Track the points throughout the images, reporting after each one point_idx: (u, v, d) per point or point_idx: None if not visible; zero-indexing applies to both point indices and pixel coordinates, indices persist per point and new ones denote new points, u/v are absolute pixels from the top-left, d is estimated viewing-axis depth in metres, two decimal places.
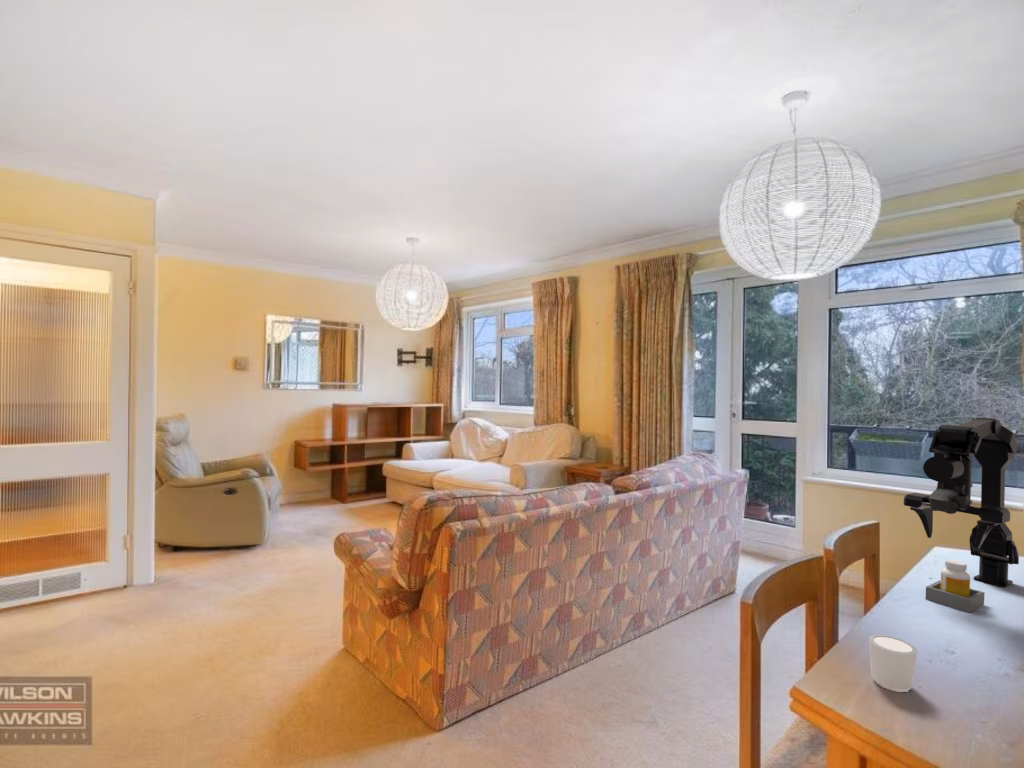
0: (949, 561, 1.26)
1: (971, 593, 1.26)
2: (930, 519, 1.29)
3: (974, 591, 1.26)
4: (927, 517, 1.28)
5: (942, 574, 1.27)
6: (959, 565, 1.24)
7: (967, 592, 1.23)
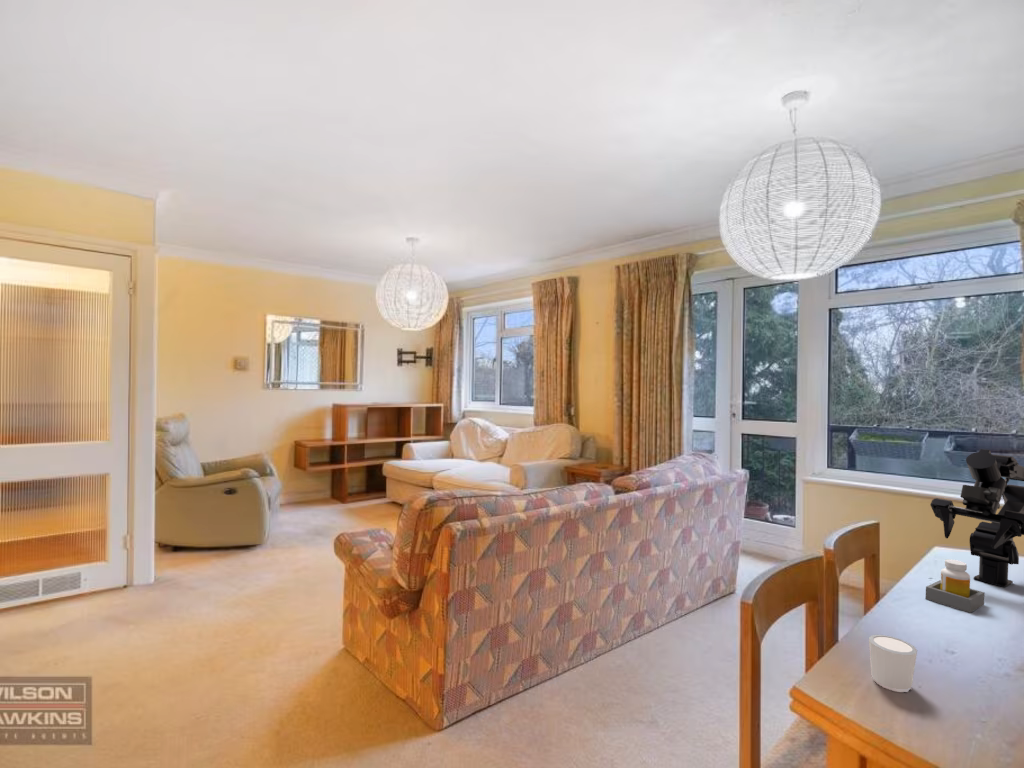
0: (949, 561, 1.26)
1: (971, 593, 1.26)
2: (951, 525, 1.36)
3: (974, 591, 1.26)
4: (949, 519, 1.35)
5: (942, 574, 1.27)
6: (959, 565, 1.24)
7: (967, 592, 1.23)
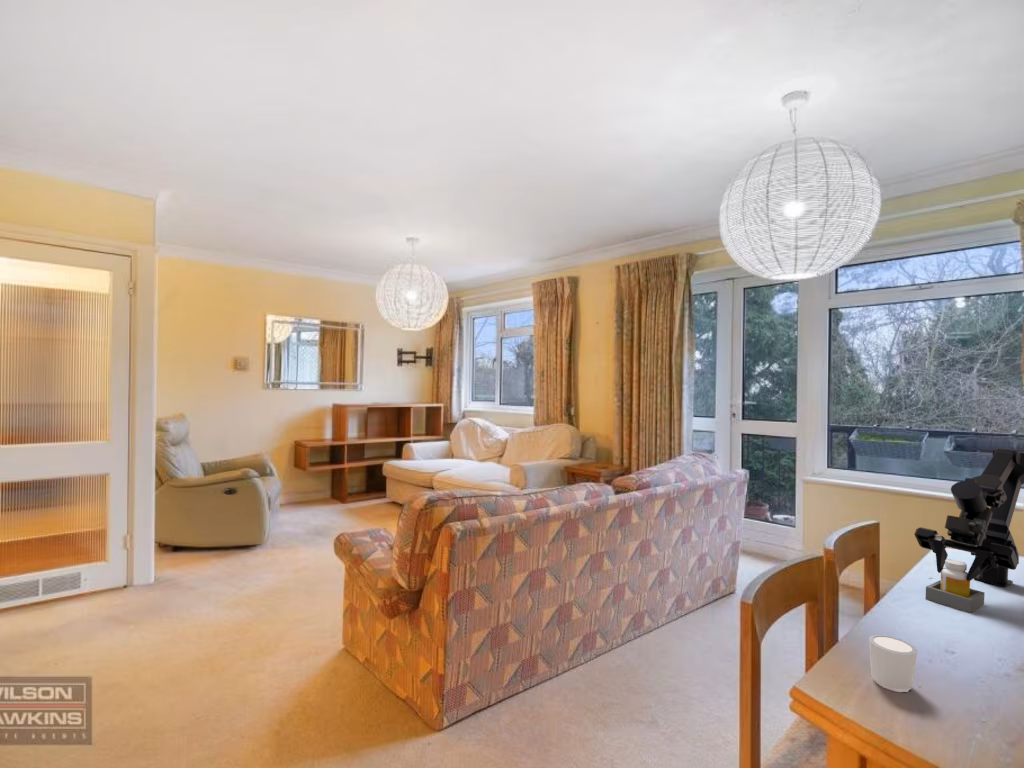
0: (949, 561, 1.26)
1: (971, 593, 1.26)
2: (944, 558, 1.30)
3: (974, 591, 1.26)
4: (942, 552, 1.29)
5: (942, 574, 1.27)
6: (959, 565, 1.24)
7: (967, 592, 1.23)
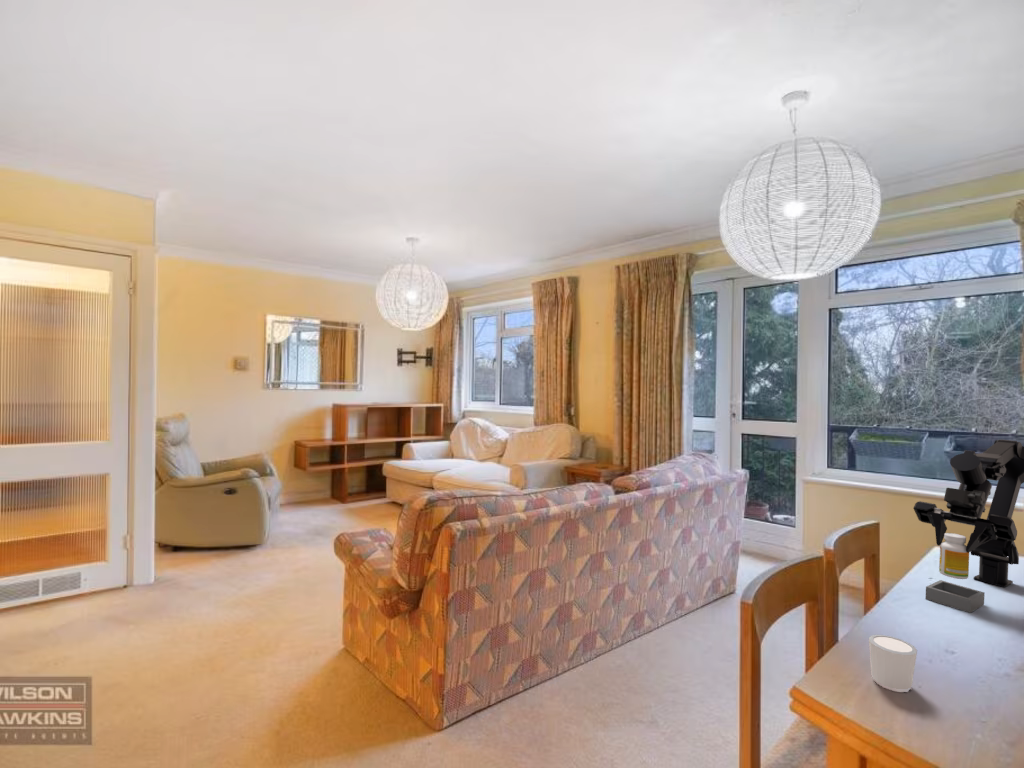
0: (948, 534, 1.26)
1: (971, 593, 1.26)
2: (943, 531, 1.29)
3: (974, 591, 1.26)
4: (941, 525, 1.28)
5: (941, 547, 1.26)
6: (958, 538, 1.23)
7: (966, 565, 1.23)
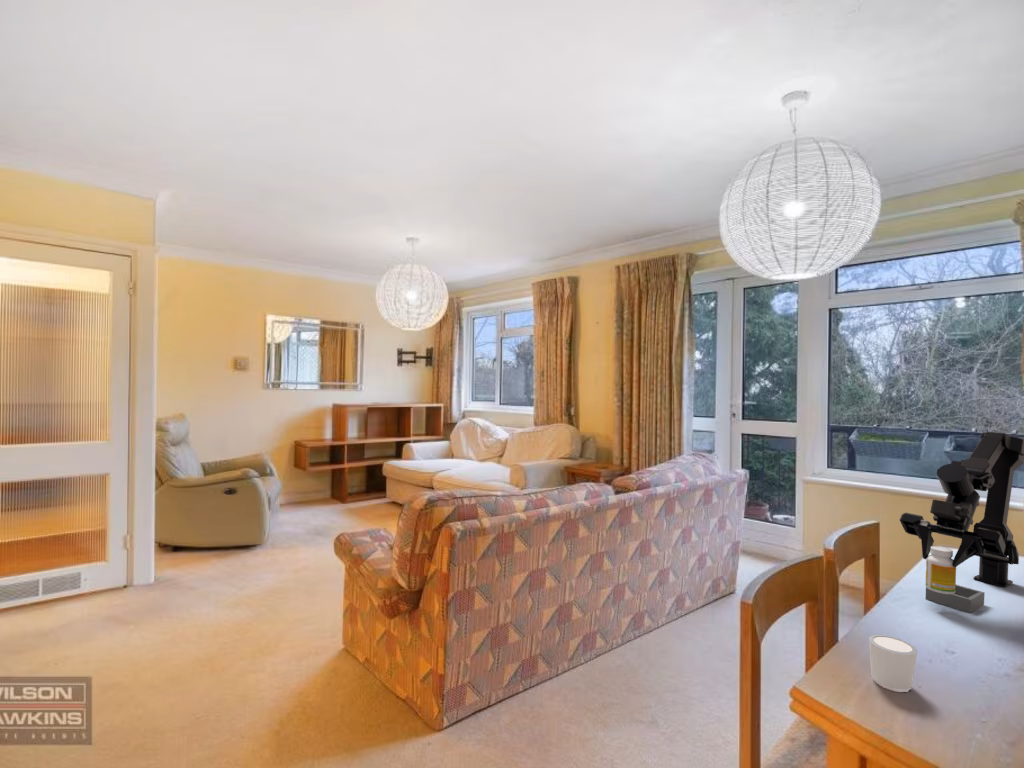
0: (935, 548, 1.21)
1: (971, 593, 1.26)
2: (929, 544, 1.25)
3: (974, 591, 1.26)
4: (928, 537, 1.24)
5: (927, 561, 1.22)
6: (945, 552, 1.19)
7: (953, 579, 1.19)
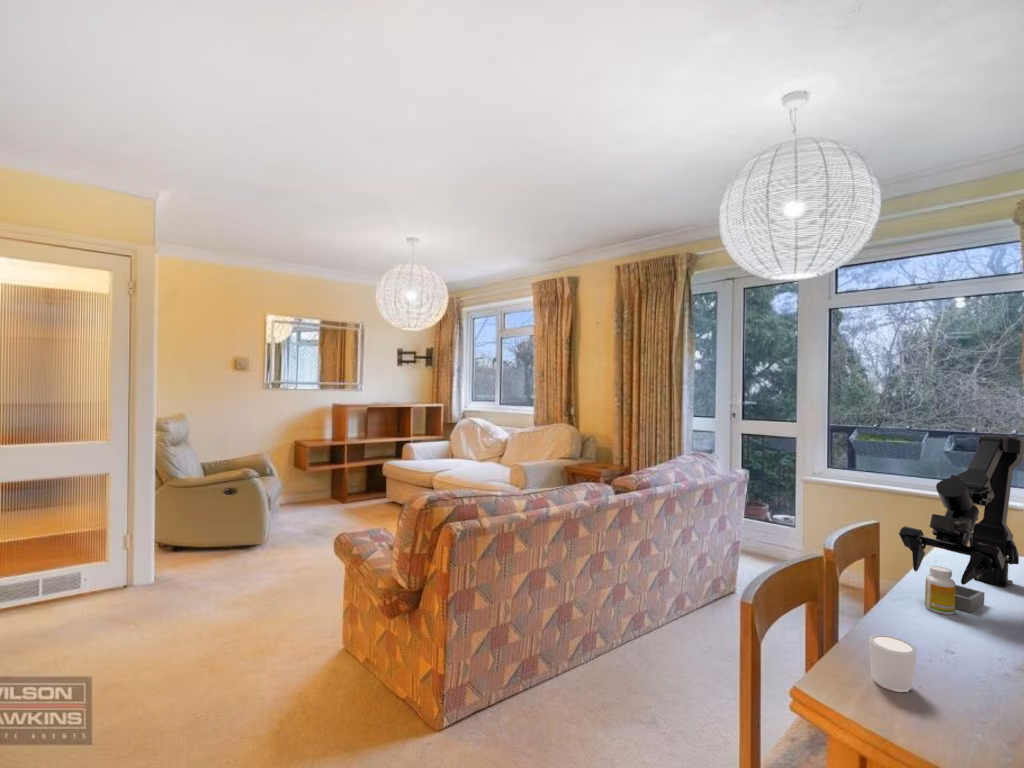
0: (934, 567, 1.22)
1: (971, 593, 1.26)
2: (920, 556, 1.26)
3: (974, 591, 1.26)
4: (919, 550, 1.26)
5: (927, 581, 1.22)
6: (944, 572, 1.19)
7: (952, 600, 1.19)
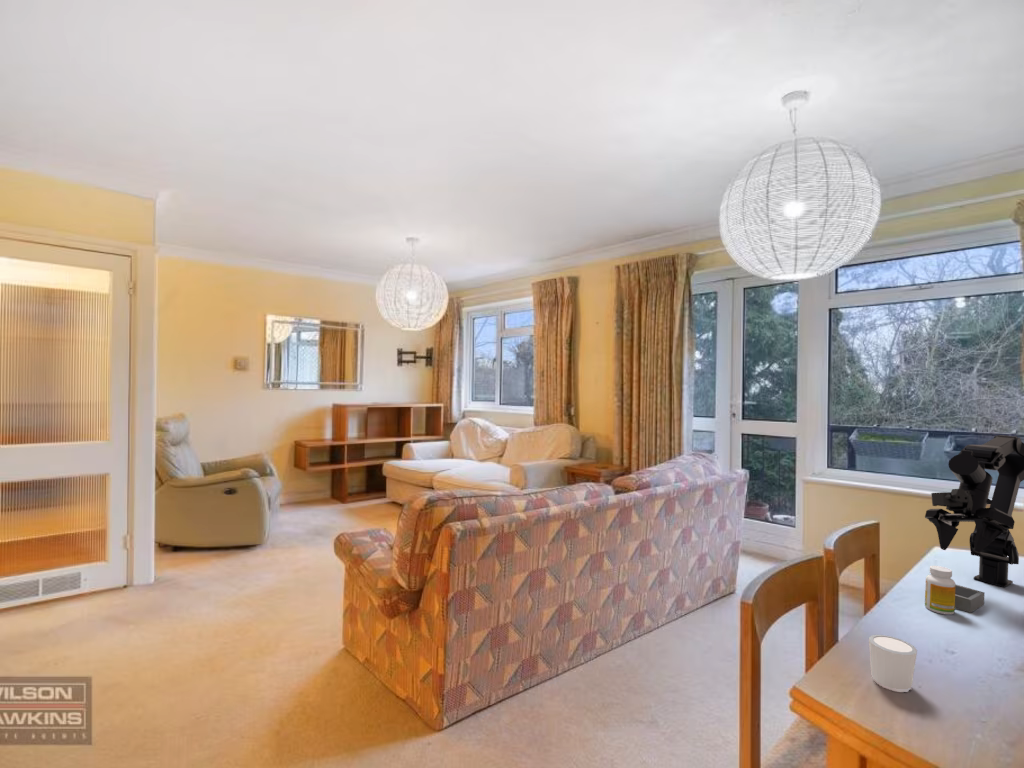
0: (934, 567, 1.22)
1: (971, 593, 1.26)
2: (949, 534, 1.32)
3: (974, 591, 1.26)
4: (942, 528, 1.33)
5: (927, 581, 1.22)
6: (944, 572, 1.19)
7: (952, 600, 1.19)
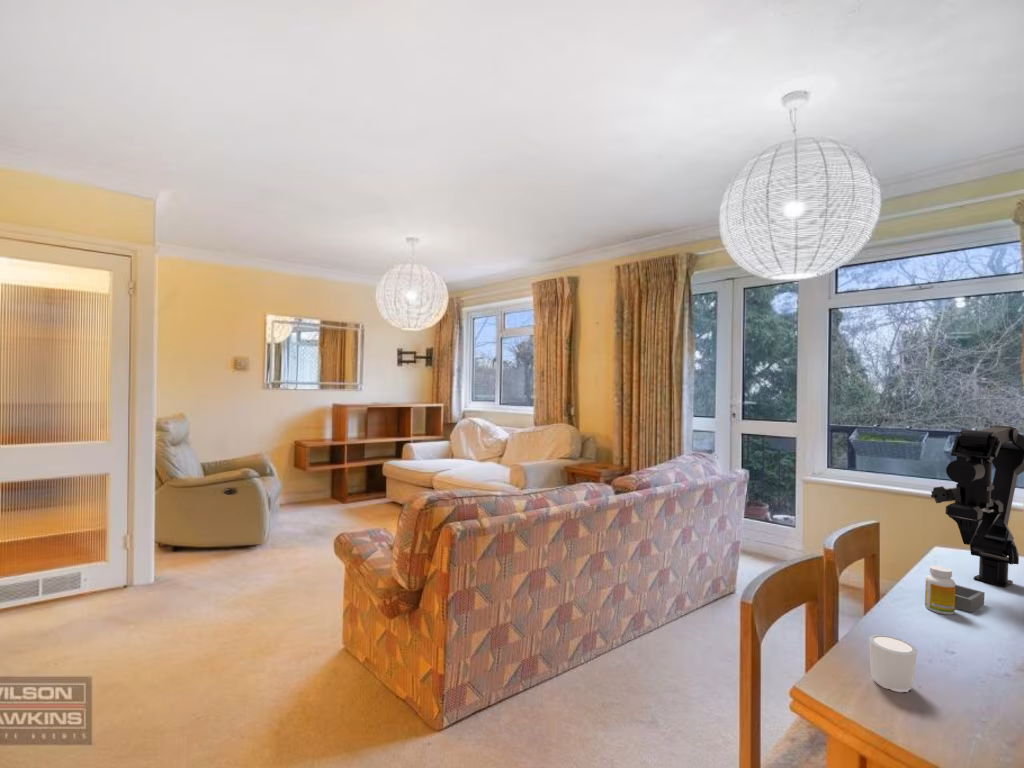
0: (934, 567, 1.22)
1: (971, 593, 1.26)
2: (984, 522, 1.33)
3: (974, 591, 1.26)
4: None
5: (927, 581, 1.22)
6: (944, 572, 1.19)
7: (952, 600, 1.19)
